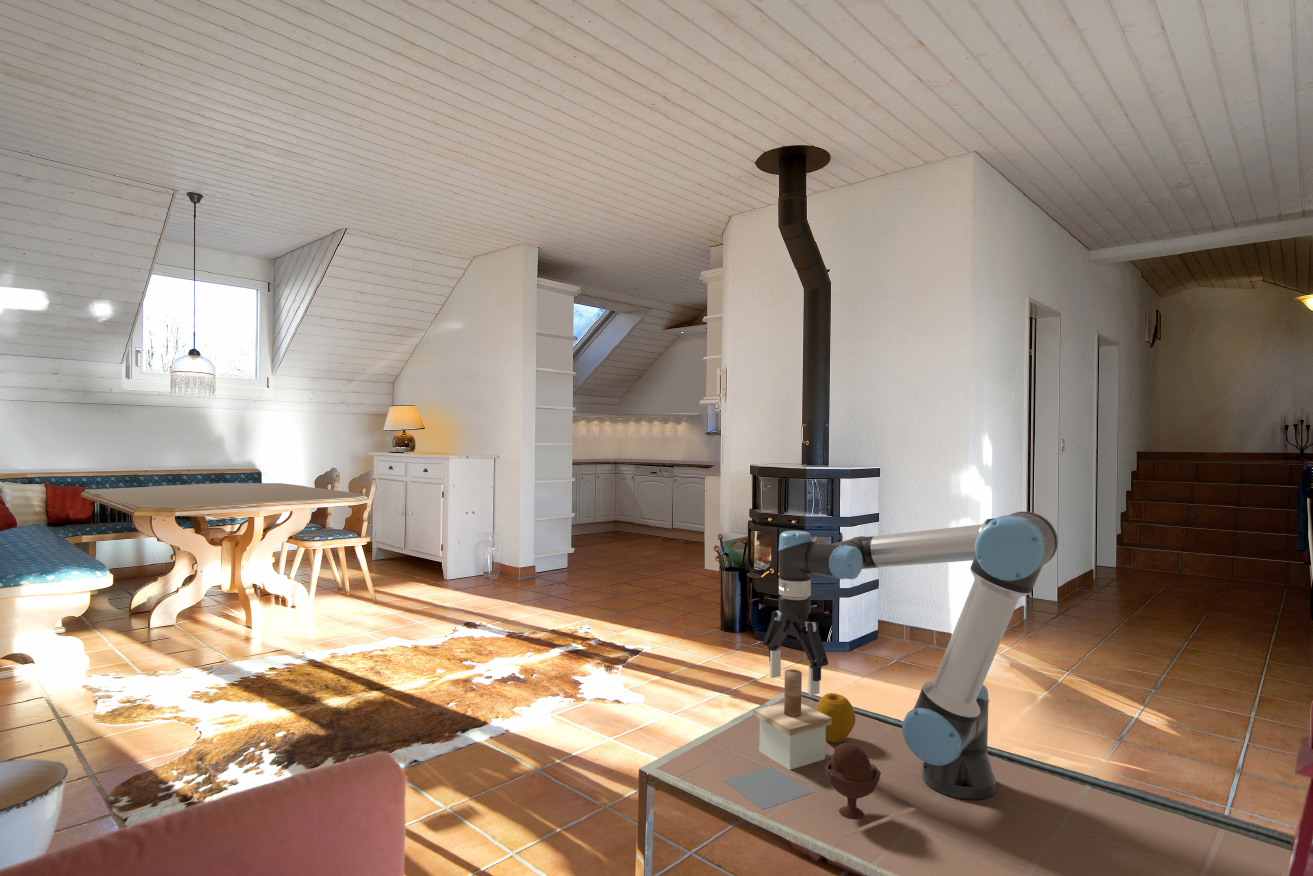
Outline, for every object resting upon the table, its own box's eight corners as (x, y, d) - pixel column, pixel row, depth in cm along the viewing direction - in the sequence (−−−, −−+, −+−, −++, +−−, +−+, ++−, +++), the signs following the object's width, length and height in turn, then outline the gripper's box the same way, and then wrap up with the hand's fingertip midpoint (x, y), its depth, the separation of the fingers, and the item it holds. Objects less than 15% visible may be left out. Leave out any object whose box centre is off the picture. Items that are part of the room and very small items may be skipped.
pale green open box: (825, 761, 173) (825, 723, 173) (789, 772, 168) (790, 733, 167) (793, 743, 183) (794, 708, 182) (759, 753, 177) (759, 716, 177)
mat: (813, 795, 157) (813, 792, 157) (762, 812, 150) (762, 809, 150) (771, 768, 169) (771, 766, 169) (722, 783, 162) (722, 780, 162)
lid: (831, 724, 173) (832, 676, 172) (790, 736, 166) (790, 685, 166) (794, 706, 184) (795, 660, 184) (753, 716, 177) (754, 668, 177)
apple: (861, 740, 185) (862, 694, 185) (841, 752, 178) (842, 704, 178) (828, 728, 192) (829, 684, 192) (807, 739, 185) (808, 693, 185)
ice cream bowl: (882, 833, 143) (884, 757, 143) (824, 826, 145) (825, 751, 145) (877, 805, 153) (878, 734, 153) (822, 799, 156) (824, 729, 155)
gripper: (749, 588, 183) (749, 672, 183) (819, 609, 162) (819, 705, 162) (772, 585, 187) (772, 667, 187) (844, 605, 166) (843, 698, 166)
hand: (794, 685), depth 175 cm, fingers open, 13 cm apart
